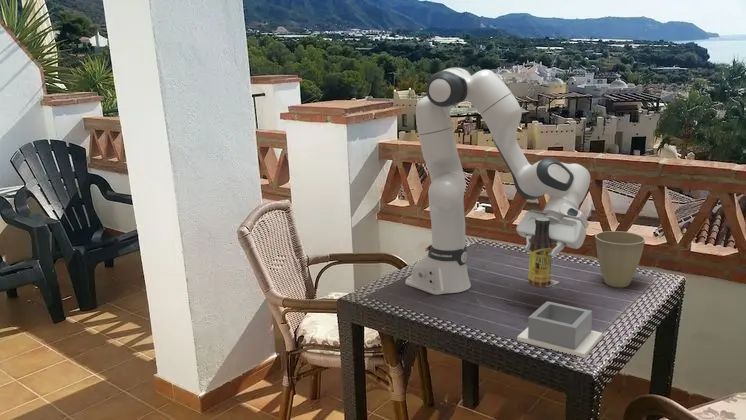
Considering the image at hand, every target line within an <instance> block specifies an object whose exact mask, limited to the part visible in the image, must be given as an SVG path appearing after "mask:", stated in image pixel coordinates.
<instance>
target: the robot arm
mask: <svg viewBox="0 0 746 420" xmlns="http://www.w3.org/2000/svg"><path fill="white" fill-rule="evenodd" d="M425 92H426V95H425V96H424V97H422V98H420V99H419V100H418V101H417V103H416V104H415V121H416V129H417V134H418V139H419V144H420V148H421V154H422V156H423V157H422V158H423V160H424V162H425V165H426V167H427V171H428V173H429V177H430V181H431V183H430V185H429V187H428V192H427V193H428V206H429V207H428V208H429V217H430V221H431V244H429V245H428V247H426V248H424V249H425V252H428V253H427V255H426V256H424V257H423V258H422V259H420V260H419V261H417V262H416V263H415V264H414V265H413V267H412V270H411V271H412V272H411V274H410V275H409V276H408V277H406V279H405V283H404V284H405V286H406V285H407V286H409V287H412V288H415V289H418V290H421V291H424V292H426V293H429V294H432V295H438V296H439V295H442V294H455V293H456V294H457V293H461V292H465V291H467V290H469V289H470V288H471V287H472V284H471V281H470V277H469V273H468V266H467V265H468V264H467V261H468V247H467V244H466V220H465V219H466V218H465V205H464V198H465V197H464V196H465V191H466V188H467V183H466V178H465V173H464V170H463V165H462V163H461V162H462V161H461V159H460V155H459V151H458V147H457V143H456V138H455V132H454V127H453V124H452V120H451V109H452V108H453V107H455V106H457V105H459V104H460V103H464V102H465V101H466V102H468V103H471V104H472V105H473V106H474V108H475V109H476V111H477V112H478V114H479V115H480V116H481V118H482V119H483V121H484V123H485V124H486V126H487V127H488V130H489V132H490V135H491V139H492V141H493V143H494V145H495V147H496V149H497V151H498V153H499V154H500V156H501V158H502V160H503V161H504V163H505V165H506V167H507V168H508V170H509V172H510V175H511V176H512V177H511V178H512V179H513V184H514V187H515V189H516V191H517V193H518V194H519V195H520V197H522V198H524V199H525V200H530V201H535V200H537V199H540V198H542V197H543V196H544V195H546V194H547V195H548V196H549V199H548V201H547V202H546V203H545V204H546V205H544V209H543V210H539V209H538V210H537V209H534V208H533V209H530V210H528V211H526V212H525V214H524V216H523V217H522V218H521V220H520V221H519V223H518V224H517V225H516V228H515V230H516V232H517V234H518V235H519V236H520V237H522V238H526V241H525V242H526V245H525V247H524V250H525V251H526V252H529V253H530V243H531V240H532V237H533V236H534V235H535V229H536V224H535V219H536V218H540V217H543V218H548V219H550V224H549V238H550V239H551V245H552V244H553V245H556V246H555V247H554V248H552V249H550V250H549V252H548V255H549V257H552V258H554V259H555V258H556V257H557V255H558V253H559V252H561V251H563V250H564V248H565V247H567V248H571V249H576V250H577V249H579V248H581V247H582V246H583V244H584V241H585V239H586V236H587V230H586V229H588V228H589V225H590V224H589V221H588V219H587V217H586V216H585V214H584V213H583V212H582V211H580V210H579V207H580V204H581V203H582V202H583V201H584V199H585V197H586V196H587V192H588V190H589V187H590V183H591V174H590V171H588V169H587V168H585V167H584V166H583V165H581V164H579V163H565V162H562V161H559V160H558V159H556V158H553V157H545V158H542V159H541V160H539V161H537V162H535V163H534V164H530V162H529V161H528V159H527V157H526V156H525V154H524V152H523V150H522V148H521V146H520V145H519V143H518V139H517V132H518V128H519V126H520V123H521V119H522V109H521V106H520V103H519V101H518V100H517V98H516V97H515V96H514V94H513V93H512V91H511V89H510V88H509V87H508V86H507V85H506V84H505V82H504V81H503V80H502V79H501V78H500V77H499V75H497V74H496V73H495V72H494V71H492V70H491V69H482V70H479V71H477V72H475V73H472V72H471V71H470V70H469V69H467V68H466V67H461V66H456V67H455V66H454V67H448V68H445V69H443V70H441V71H437V72H436V73H434V74H433V75H432V76H431V77H430V78H429V80H428V81H427V83H426V87H425Z"/></svg>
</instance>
